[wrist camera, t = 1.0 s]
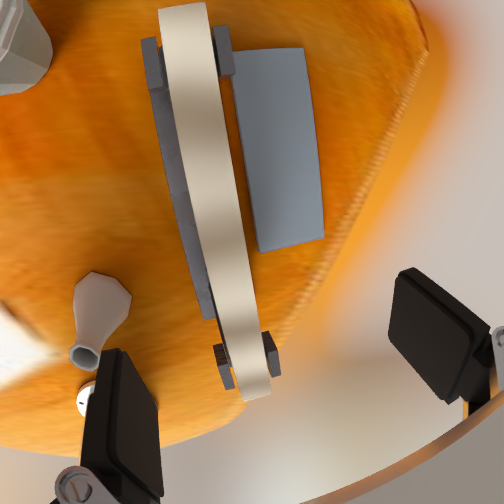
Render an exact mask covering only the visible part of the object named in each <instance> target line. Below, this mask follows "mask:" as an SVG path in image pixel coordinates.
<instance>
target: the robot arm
mask: <svg viewBox="0 0 504 504" xmlns="http://www.w3.org/2000/svg"><path fill="white" fill-rule="evenodd" d="M490 328H491V327H490V326H489V325H487V324H486V323H485V322H484V321H483V320H482V319H480V318H479V317H478V316H477V315H476V314H474V313H473V312H472V311H471V310H469V309H468V308H467V307H466V306H464V305H463V304H462V303H461V302H459V301H458V300H457V299H456V298H454V297H453V296H452V295H450V294H449V293H448V292H447V291H445V290H444V289H443V288H442V287H440V286H439V285H438V284H436V283H435V282H434V281H432V280H431V279H430V278H428V277H427V276H426V275H424V274H423V273H422V272H420V271H419V270H418V269H416V268H414V267H413V268H409V269H407V270H403V271H401V272H400V273H399V274H398V277H397V278H396V280H395V288H394V295H393V303H392V310H391V318H390V324H389V330H388V337H389V340H390V342H391V343H392V344H393V345H394V346H395V347H396V349H397V350H398V351H399V352H400V353H401V354H402V355H403V357H404V358H405V359H406V360H407V361H408V362H409V364H410V365H411V366H412V367H413V368H414V369H415V370H416V372H417V373H418V374H419V375H420V376H421V378H422V379H423V380H424V381H425V382H426V383H427V385H428V386H429V387H430V388H431V389H432V391H433V392H435V394H436V395H437V396H438V398H439V399H441V400H445V402H446V403H447V404H448V405H449V404H450V403H452V402H453V401H455V400H456V399H458V398H459V396H461V397H462V398H463V421H462V422H461V423H460V424H458V425H456V426H455V427H454V428H452V429H451V430H449V431H448V432H446V433H445V434H443V435H442V436H440V437H439V438H437V439H436V440H434V441H432V442H431V443H429V444H428V445H426V446H424V447H423V448H421V449H419V450H418V451H416V452H414V453H413V454H411V455H409V456H407V457H406V458H404V459H402V460H400V461H398V462H397V463H395V464H393V465H391V466H389V467H387V468H385V469H383V470H381V471H379V472H377V473H375V474H373V475H371V476H368V477H366V478H364V479H362V480H360V481H358V482H355V483H353V484H351V485H348V486H346V487H344V488H341V489H339V490H336V491H334V492H331V493H328V494H326V495H323V496H320V497H318V498H315V499H312V500H309V501H306V502H303V503H300V504H504V326H501V327H498V328H496V329H495V330H494V331H493V333H492V335H491V334H489V330H490ZM77 406H78V409H79V410H80V412H81V413H82V415H83V416H84V421H83V428H82V436H81V444H80V453H79V464H78V466H71V467H68V468H66V469H64V470H63V471H62V472H61V473H60V474H59V475H58V477H57V479H56V482H55V494H56V496H57V498H56V499H55V500H53V501H52V502H51V503H50V504H160V497H163V496H164V487H163V478H162V467H161V456H160V442H159V426H158V408H157V404H156V402H155V400H154V399H153V397H152V396H151V394H150V393H149V391H148V389H147V388H146V386H145V384H144V382H143V381H142V379H141V377H140V375H139V374H138V372H137V370H136V368H135V367H134V365H133V363H132V361H131V359H130V357H129V355H128V354H127V352H126V351H124V352H122V351H121V350H120V349H119V348H115V349H110V350H104V351H102V352H101V355H100V360H99V365H98V371H97V376H96V380H94V381H90V382H88V383H86V384H84V385H83V386H82V387H81V388H80V390H79V392H78V395H77Z"/></svg>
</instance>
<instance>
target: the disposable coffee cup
mask: <svg viewBox="0 0 504 504" xmlns="http://www.w3.org/2000/svg"><path fill="white" fill-rule="evenodd" d="M52 56H53V49H52V44H51V39H50V37H49V35H48V34H47V32H46V31H45V29H44V27H43V26H42V24H41V22H40V21H39V19H38V18H37V16H36V14H35V13H34V11H33V9H32V8H31V6H30V4H29V3H28V1H27V0H0V96H1V95H7V94H14V93H20V92H23V91H25V90H27V89H29V88H30V87H32V86H34V85H36V84H37V83H38V82H39V81H40V80H41V78H42V77H43V76H44V75H45V73H46V72H47V71H48V69H49V66H50V63H51V59H52Z"/></svg>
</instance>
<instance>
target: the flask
mask: <svg viewBox="0 0 504 504" xmlns="http://www.w3.org/2000/svg"><path fill="white" fill-rule="evenodd" d="M131 300H132V296H131V295H130V294H129V292H128V291H127V290H126V289H125V288H124V287H123V286H122V285H121V284H120V283H119V282H118V281H117V279H116V278H112V277H109V276H105V275H101V274H98V273H94V272H90V273H89V274H88V275H87V276H85V277H84V278H83V279H82V280H81V281H79V282H78V283H77V284H76V285H75V288H74V298H73V312H74V317H75V323H76V331H77V338H76V341H75V344H74V345H73V346H72V347H71V348H70V350H69V360H70V361H71V362H72V363H73V364H74V365H76V366H77V367H78V368H79V369H83V370H87V371H91V372H92V371H94V370H96V369H97V368H98V365H99V360H100V355H101V349H102V347H103V345H104V343H105V341H106V340H107V339H108V338H109V336H110V335H111V334H112V333H113V332H114V331H115V329H116V328H117V327H118V326H119V325H120V324H121V323H122V322H123V321H124V320H125V319H126V318H127V317H128V314H129V309H130V304H131Z"/></svg>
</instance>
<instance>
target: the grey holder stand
mask: <svg viewBox="0 0 504 504" xmlns="http://www.w3.org/2000/svg"><path fill="white" fill-rule="evenodd" d="M210 34H211V41H212V47H213V53H214V59H215V65H216V71H217V77H218V81H222V80H228V79H230V78H231V77H232V76H233V75H235V74H236V69H235V63H234V57H233V51H232V45H231V39H230V33H229V28H228V25H222V26H213V28H212V31H211V33H210ZM141 46H142V53H143V60H144V66H145V73H146V79H147V85H148V90H149V91H150V96H151V102H152V107H153V113H154V118H155V123H156V129H157V134H158V139H159V144H160V149H161V154H162V158H163V163H164V168H165V172H166V177H167V181H168V186H169V190H170V195H171V199H172V203H173V207H174V212H175V216H176V220H177V224H178V228H179V232H180V236H181V240H182V244H183V247H184V251H185V255H186V259H187V263H188V266H189V270H190V274H191V277H192V281H193V284H194V288H195V292H196V295H197V298H198V302H199V305H200V309H201V312H202V315H203V319H204V320H208V319H212V318H216V319H217V322H218V326H219V330H220V334H221V338H222V341H223V344H222V343H220V344H216V345H213V349H214V353H215V357H216V362H217V366H218V369H219V372H220V375H221V378H222V381H223V384H224V387H225V390H229V389H233V388H235V385H234V382H233V378H232V375H231V371H230V368H229V366H230V367H233V366H232V362H231V359H230V355H229V352H228V348H227V344H226V341H225V337H224V333H223V330H222V326H221V322H220V319H219V315H218V311H217V307H216V303H215V299H214V296H213V292H212V288H211V284H210V280H209V276H208V272H207V268H206V264H205V259H204V255H203V251H202V247H201V243H200V238H199V234H198V230H197V225H196V221H195V216H194V212H193V207H192V203H191V198H190V194H189V189H188V184H187V179H186V175H185V170H184V165H183V160H182V155H181V150H180V145H179V140H178V134H177V129H176V124H175V118H174V113H173V107H172V101H171V96H170V90H169V84H168V78H167V72H166V65H165V59H164V53H163V46H161V47H159V53H158V46H157V41H156V36H154V37H150V38H146V39H141ZM159 54H160V59H159ZM261 335H262V340H263V346H264V352H265V357H266V363H267V367H268V370H269V372H270V374H271V377H276V376H279V375H281V371H280V363H279V356H278V350H277V347H276V345H275V343H274V341H273V339H272V337H271V335H270V333H269V331H265V332H262V333H261ZM223 345H224V347H223ZM224 349H225V351H224ZM225 352H226V354H225ZM226 355H227V358H226ZM227 359H228V361H227ZM228 362H229V364H228Z"/></svg>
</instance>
